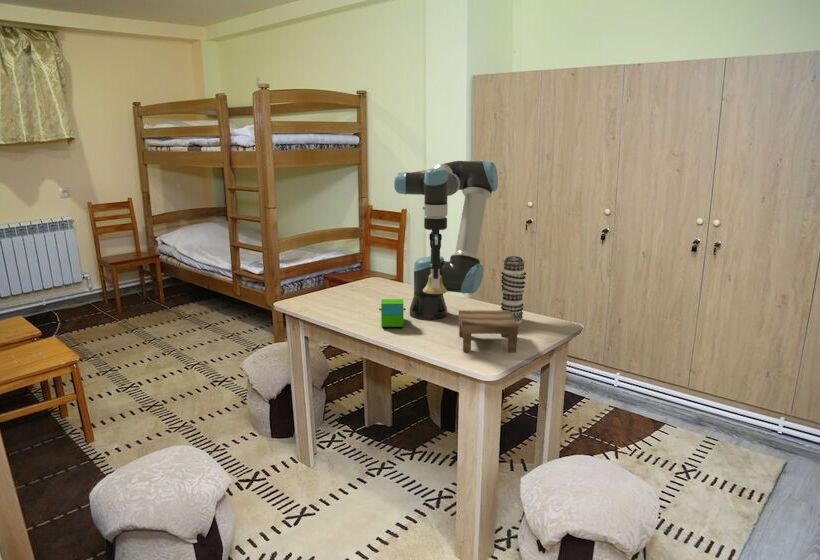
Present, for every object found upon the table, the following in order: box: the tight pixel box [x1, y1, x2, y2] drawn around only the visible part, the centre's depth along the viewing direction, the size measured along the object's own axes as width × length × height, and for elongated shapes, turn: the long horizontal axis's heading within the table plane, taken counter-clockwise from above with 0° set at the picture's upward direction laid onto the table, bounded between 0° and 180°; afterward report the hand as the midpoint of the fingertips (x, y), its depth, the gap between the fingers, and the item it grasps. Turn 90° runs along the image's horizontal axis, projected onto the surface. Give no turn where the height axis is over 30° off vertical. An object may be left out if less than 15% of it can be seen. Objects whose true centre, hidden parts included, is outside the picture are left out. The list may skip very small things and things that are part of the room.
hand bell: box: [423, 275, 448, 295], centre depth 190 cm, size 8×8×16 cm
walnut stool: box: [458, 309, 519, 353], centre depth 194 cm, size 18×18×9 cm
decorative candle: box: [500, 255, 527, 325], centre depth 216 cm, size 9×9×25 cm
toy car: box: [378, 298, 407, 329], centre depth 214 cm, size 10×13×10 cm
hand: (434, 285), depth 191 cm, fingers closed on hand bell, 6 cm apart
